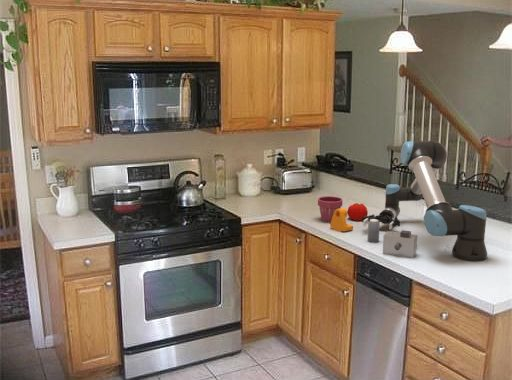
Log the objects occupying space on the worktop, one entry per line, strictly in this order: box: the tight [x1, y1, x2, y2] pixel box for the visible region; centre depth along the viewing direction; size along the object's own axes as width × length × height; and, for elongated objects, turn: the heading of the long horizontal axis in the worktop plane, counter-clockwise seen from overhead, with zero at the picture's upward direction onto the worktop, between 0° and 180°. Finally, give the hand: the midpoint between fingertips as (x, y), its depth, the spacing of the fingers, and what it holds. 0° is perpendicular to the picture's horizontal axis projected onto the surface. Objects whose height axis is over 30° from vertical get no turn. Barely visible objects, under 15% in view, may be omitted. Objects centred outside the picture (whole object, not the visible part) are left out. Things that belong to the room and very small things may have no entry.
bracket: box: [329, 207, 354, 232], centre depth 288 cm, size 11×7×12 cm, turn 37°
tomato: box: [347, 202, 369, 222], centre depth 308 cm, size 11×12×9 cm
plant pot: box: [317, 195, 343, 223], centre depth 306 cm, size 14×14×13 cm
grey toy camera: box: [382, 229, 418, 259], centre depth 251 cm, size 14×20×11 cm
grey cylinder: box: [367, 219, 381, 243], centre depth 267 cm, size 6×6×11 cm
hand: (376, 225), depth 273 cm, fingers open, 13 cm apart
